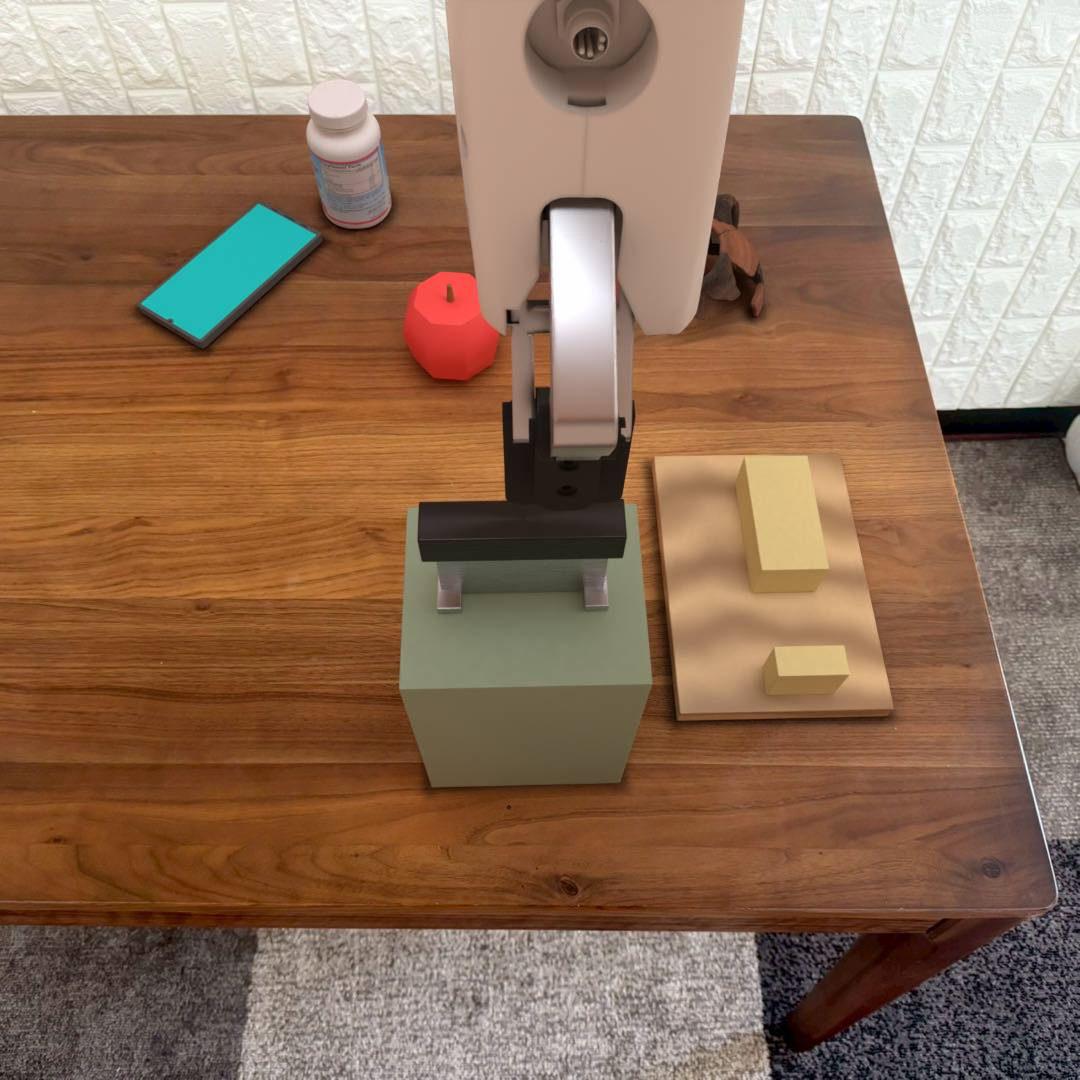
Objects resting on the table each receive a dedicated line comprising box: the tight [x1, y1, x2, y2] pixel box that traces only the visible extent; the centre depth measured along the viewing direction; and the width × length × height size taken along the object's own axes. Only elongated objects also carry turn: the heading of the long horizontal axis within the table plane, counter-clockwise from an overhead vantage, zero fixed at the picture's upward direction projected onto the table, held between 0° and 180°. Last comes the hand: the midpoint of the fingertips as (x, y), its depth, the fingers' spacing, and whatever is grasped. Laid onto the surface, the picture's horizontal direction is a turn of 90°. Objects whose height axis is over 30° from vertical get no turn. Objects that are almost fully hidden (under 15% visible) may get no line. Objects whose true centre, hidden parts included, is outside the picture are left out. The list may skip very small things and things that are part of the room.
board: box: [651, 452, 895, 722], centre depth 68 cm, size 20×14×2 cm
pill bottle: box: [305, 78, 392, 230], centre depth 81 cm, size 6×6×11 cm
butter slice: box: [762, 645, 850, 695], centre depth 62 cm, size 2×4×4 cm, turn 92°
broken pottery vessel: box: [694, 193, 765, 321], centre depth 80 cm, size 12×10×8 cm
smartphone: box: [136, 200, 324, 349], centre depth 81 cm, size 7×1×15 cm
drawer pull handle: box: [417, 498, 627, 614], centre depth 45 cm, size 2×9×7 cm, turn 92°
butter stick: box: [735, 456, 829, 593], centre depth 67 cm, size 9×4×4 cm, turn 2°
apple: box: [402, 271, 500, 381], centre depth 74 cm, size 8×8×8 cm
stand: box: [398, 503, 653, 788], centre depth 56 cm, size 10×12×18 cm
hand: (556, 357), depth 29 cm, fingers open, 9 cm apart
